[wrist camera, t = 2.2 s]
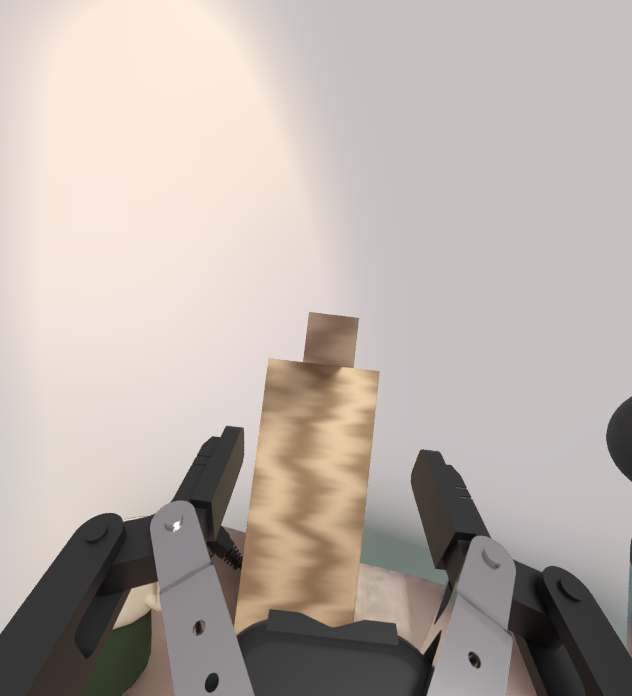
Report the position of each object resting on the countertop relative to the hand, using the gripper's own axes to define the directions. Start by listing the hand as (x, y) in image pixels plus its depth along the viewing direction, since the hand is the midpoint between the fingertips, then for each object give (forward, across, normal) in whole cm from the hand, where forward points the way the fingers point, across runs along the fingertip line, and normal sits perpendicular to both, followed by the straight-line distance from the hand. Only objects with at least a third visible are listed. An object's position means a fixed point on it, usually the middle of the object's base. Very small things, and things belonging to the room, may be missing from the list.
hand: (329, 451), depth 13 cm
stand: (+7, 0, +37) cm, 37 cm away
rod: (+20, 0, +7) cm, 21 cm away
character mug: (0, +17, +33) cm, 37 cm away
